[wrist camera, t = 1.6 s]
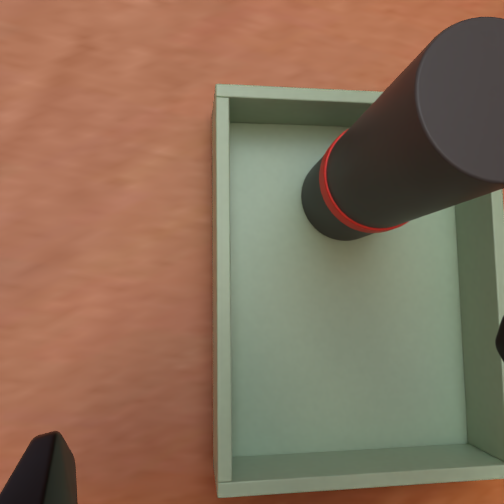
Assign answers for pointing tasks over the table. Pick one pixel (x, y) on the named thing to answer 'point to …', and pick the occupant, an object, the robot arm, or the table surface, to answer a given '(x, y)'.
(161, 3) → the table surface
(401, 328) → the box
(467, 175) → the red-banded dark cylinder
